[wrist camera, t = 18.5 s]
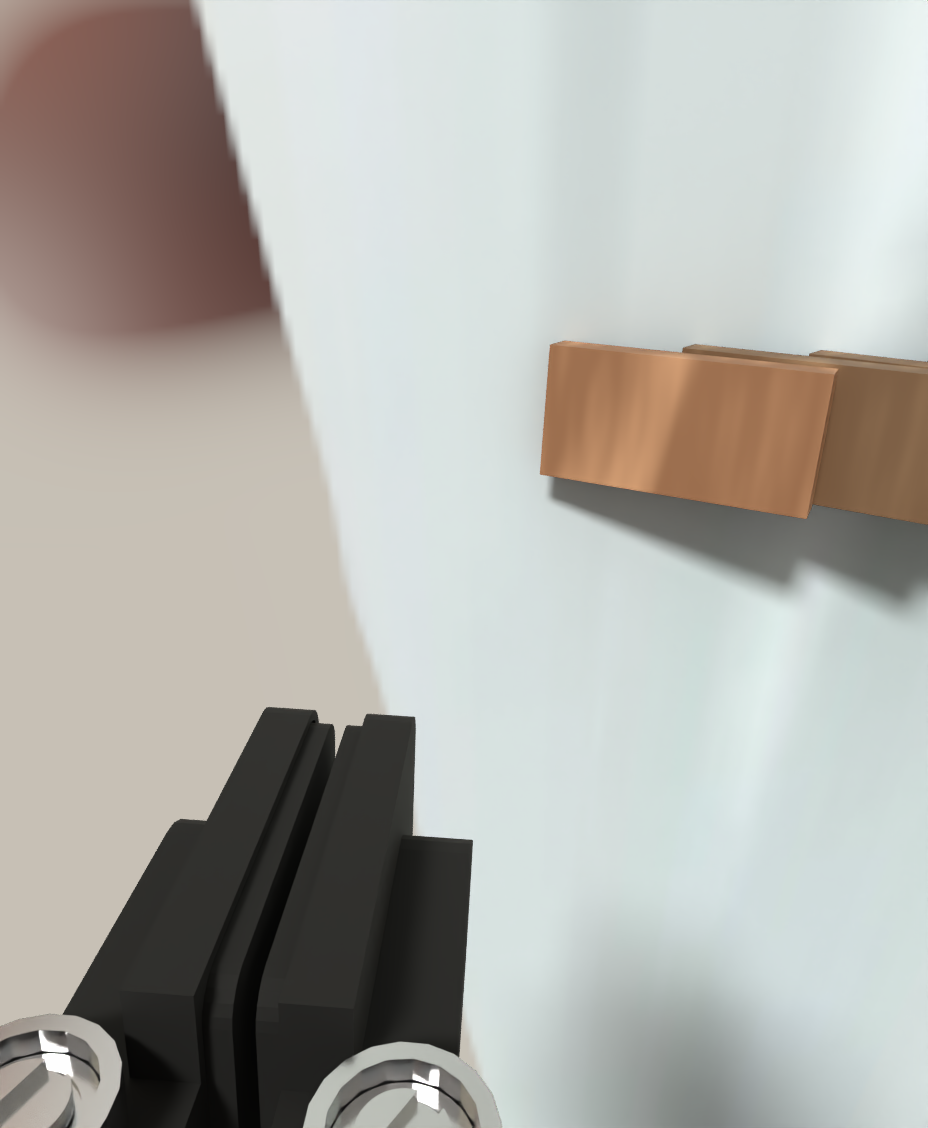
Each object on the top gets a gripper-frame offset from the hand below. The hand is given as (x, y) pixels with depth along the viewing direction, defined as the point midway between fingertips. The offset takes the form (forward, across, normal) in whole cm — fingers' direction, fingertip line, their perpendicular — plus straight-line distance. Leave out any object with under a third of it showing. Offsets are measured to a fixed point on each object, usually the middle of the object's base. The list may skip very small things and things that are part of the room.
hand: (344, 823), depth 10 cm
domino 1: (+26, -3, 0) cm, 27 cm away
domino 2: (+26, -8, 0) cm, 28 cm away
